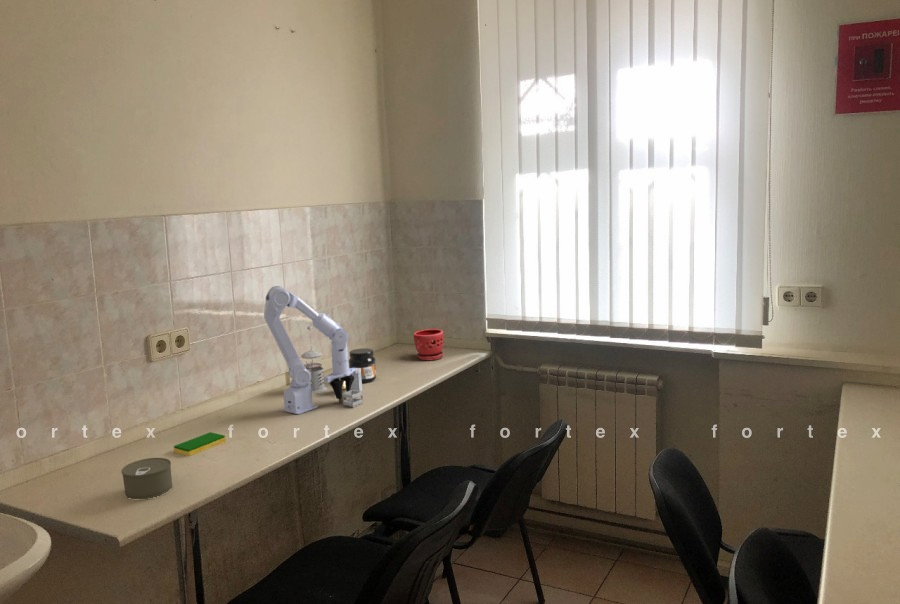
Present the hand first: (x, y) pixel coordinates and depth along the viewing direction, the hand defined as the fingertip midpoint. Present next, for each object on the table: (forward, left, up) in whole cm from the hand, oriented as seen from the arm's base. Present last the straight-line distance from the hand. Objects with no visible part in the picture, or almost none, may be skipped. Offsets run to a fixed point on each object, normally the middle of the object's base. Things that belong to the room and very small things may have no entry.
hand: (342, 397), depth 263 cm
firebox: (0, -5, -2) cm, 5 cm away
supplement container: (+26, +14, -2) cm, 29 cm away
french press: (+6, +22, -2) cm, 22 cm away
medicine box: (+12, +8, -2) cm, 14 cm away
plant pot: (+67, +14, -2) cm, 68 cm away
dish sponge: (-54, +6, -3) cm, 55 cm away
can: (-81, -10, -2) cm, 82 cm away
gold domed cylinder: (0, 0, -2) cm, 2 cm away
